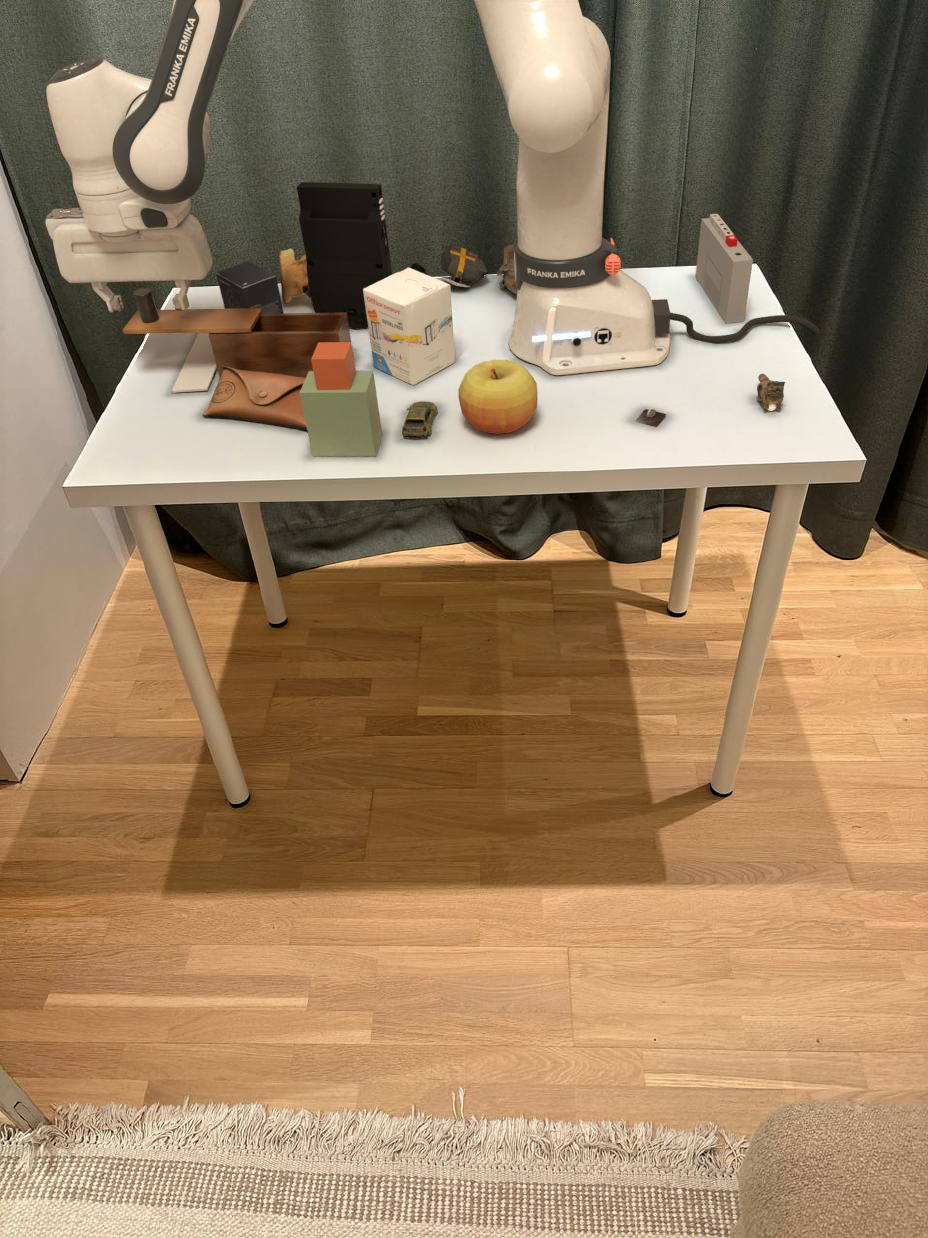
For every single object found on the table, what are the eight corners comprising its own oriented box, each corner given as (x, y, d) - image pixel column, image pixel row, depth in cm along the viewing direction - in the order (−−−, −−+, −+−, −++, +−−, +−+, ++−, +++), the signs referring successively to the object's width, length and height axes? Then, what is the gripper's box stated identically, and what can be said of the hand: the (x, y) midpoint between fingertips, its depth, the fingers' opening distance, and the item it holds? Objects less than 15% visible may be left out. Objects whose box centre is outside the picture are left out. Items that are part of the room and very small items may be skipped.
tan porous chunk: (275, 224, 146) (329, 222, 148) (280, 269, 156) (331, 267, 157) (280, 287, 142) (337, 285, 143) (285, 330, 151) (338, 327, 152)
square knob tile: (656, 427, 119) (656, 418, 118) (634, 421, 120) (634, 413, 119) (666, 414, 120) (666, 406, 119) (645, 408, 121) (645, 400, 120)
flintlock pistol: (563, 285, 142) (495, 284, 142) (561, 308, 144) (495, 307, 144) (559, 238, 156) (497, 238, 156) (557, 260, 158) (497, 259, 158)
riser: (382, 434, 121) (373, 370, 115) (375, 456, 118) (366, 391, 112) (320, 434, 122) (308, 370, 116) (312, 456, 119) (299, 392, 113)
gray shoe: (447, 231, 157) (440, 255, 159) (442, 262, 145) (434, 287, 147) (490, 246, 158) (482, 269, 160) (488, 278, 146) (480, 302, 149)
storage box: (354, 358, 136) (346, 311, 132) (346, 379, 132) (338, 332, 127) (232, 359, 138) (220, 313, 134) (220, 380, 134) (208, 334, 129)
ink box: (371, 367, 134) (360, 286, 126) (415, 344, 138) (407, 264, 130) (413, 386, 129) (404, 304, 121) (457, 362, 134) (451, 281, 126)
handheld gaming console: (399, 320, 144) (383, 182, 130) (390, 334, 141) (373, 194, 127) (325, 315, 147) (301, 180, 133) (314, 329, 144) (289, 192, 130)
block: (356, 372, 115) (351, 341, 112) (350, 389, 112) (344, 358, 109) (323, 372, 116) (318, 342, 113) (316, 389, 113) (310, 358, 110)
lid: (262, 311, 133) (255, 279, 130) (251, 332, 128) (243, 299, 125) (138, 313, 135) (128, 282, 132) (123, 334, 131) (112, 301, 127)
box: (291, 344, 141) (277, 274, 133) (257, 358, 138) (241, 287, 131) (264, 327, 145) (248, 258, 138) (231, 340, 143) (214, 271, 136)
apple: (458, 445, 118) (453, 387, 113) (462, 403, 125) (458, 347, 120) (538, 443, 118) (537, 385, 112) (537, 401, 125) (537, 345, 119)
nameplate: (172, 393, 132) (207, 390, 132) (171, 390, 132) (207, 388, 132) (206, 320, 148) (237, 318, 148) (205, 318, 148) (237, 315, 147)
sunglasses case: (197, 415, 126) (199, 363, 125) (225, 415, 133) (227, 366, 131) (320, 432, 122) (324, 378, 120) (343, 431, 128) (347, 380, 127)
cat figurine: (763, 417, 118) (767, 385, 116) (748, 396, 125) (751, 365, 123) (786, 416, 118) (790, 383, 116) (769, 394, 124) (773, 364, 122)
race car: (439, 406, 125) (438, 389, 124) (429, 440, 120) (427, 423, 118) (412, 406, 126) (410, 389, 124) (400, 439, 120) (398, 422, 118)
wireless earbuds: (410, 290, 150) (437, 286, 153) (410, 274, 149) (437, 270, 151) (387, 276, 155) (414, 272, 157) (388, 260, 153) (414, 256, 155)
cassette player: (743, 321, 137) (754, 252, 130) (725, 323, 137) (734, 254, 130) (712, 275, 148) (720, 209, 141) (695, 277, 148) (702, 211, 141)
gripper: (30, 218, 120) (69, 321, 130) (185, 213, 118) (213, 318, 127) (50, 200, 125) (86, 300, 134) (201, 194, 123) (226, 297, 132)
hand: (149, 309), depth 131 cm, fingers open, 8 cm apart
